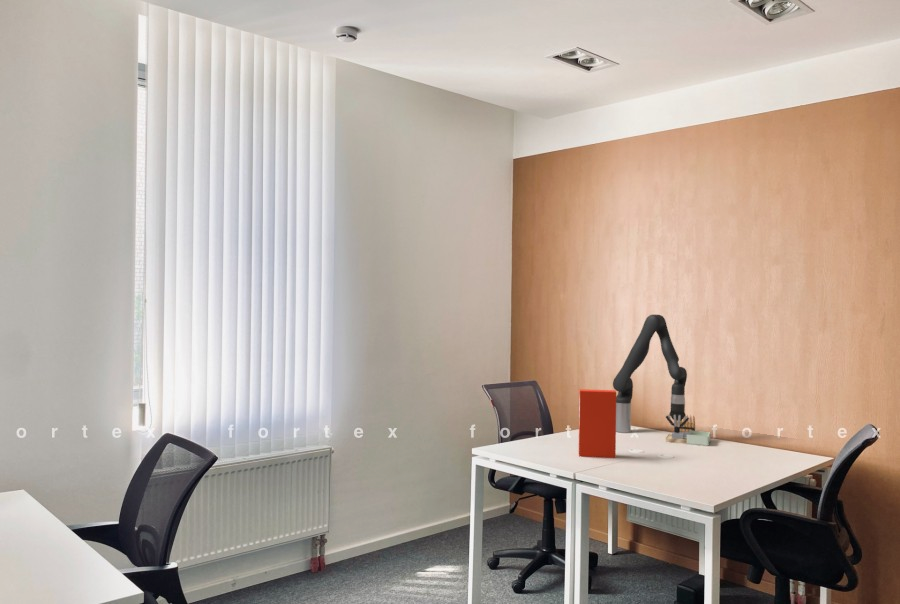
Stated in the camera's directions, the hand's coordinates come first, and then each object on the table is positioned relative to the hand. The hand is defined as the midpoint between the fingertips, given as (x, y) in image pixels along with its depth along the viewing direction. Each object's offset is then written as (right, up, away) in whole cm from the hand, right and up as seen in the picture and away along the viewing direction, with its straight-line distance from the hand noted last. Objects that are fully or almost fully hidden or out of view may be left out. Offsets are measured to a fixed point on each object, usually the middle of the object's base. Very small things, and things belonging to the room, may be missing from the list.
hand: (677, 433), depth 372 cm
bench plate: (-1, -3, -3) cm, 5 cm away
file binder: (-55, -2, -46) cm, 72 cm away
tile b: (-2, -1, -7) cm, 7 cm away
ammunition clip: (+10, -4, +14) cm, 17 cm away
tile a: (+4, -2, -2) cm, 5 cm away
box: (+9, -4, -8) cm, 13 cm away
